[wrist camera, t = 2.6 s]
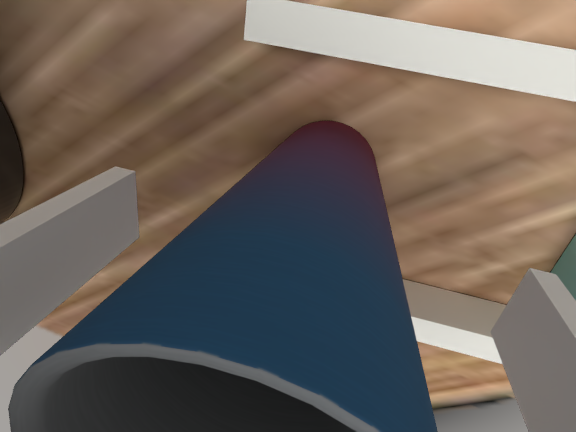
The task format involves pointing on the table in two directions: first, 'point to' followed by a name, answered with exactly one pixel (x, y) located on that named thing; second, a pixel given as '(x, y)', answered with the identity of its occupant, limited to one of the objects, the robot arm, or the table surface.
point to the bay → (440, 62)
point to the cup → (252, 316)
